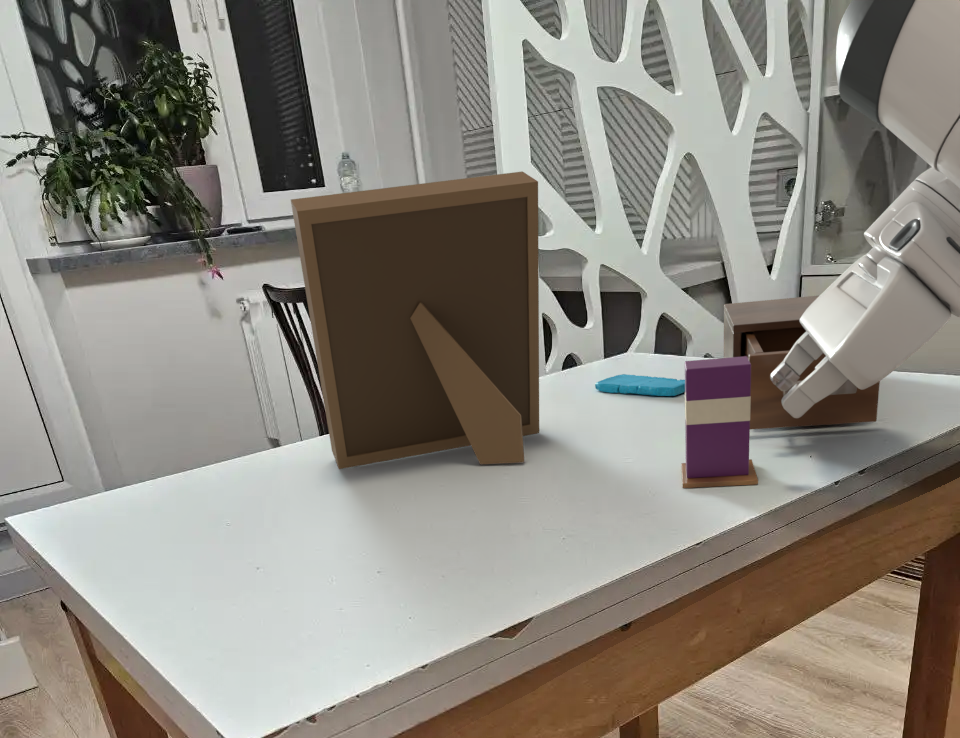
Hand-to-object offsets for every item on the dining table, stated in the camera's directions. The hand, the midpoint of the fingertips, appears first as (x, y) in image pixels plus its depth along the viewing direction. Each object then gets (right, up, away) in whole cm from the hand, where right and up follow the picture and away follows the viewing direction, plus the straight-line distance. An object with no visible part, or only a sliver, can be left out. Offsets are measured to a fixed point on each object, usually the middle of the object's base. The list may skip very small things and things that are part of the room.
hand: (781, 397), depth 74 cm
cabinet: (+10, +9, +29) cm, 32 cm away
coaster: (-4, -6, +3) cm, 8 cm away
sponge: (-5, +10, +36) cm, 38 cm away
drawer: (+7, +3, +16) cm, 17 cm away
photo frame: (-28, -1, +18) cm, 33 cm away
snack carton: (-4, -5, +3) cm, 8 cm away
